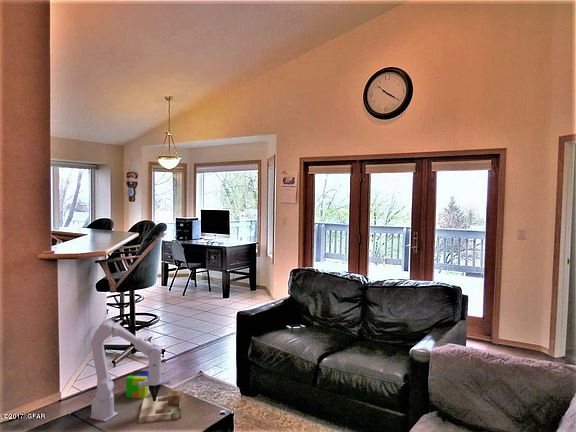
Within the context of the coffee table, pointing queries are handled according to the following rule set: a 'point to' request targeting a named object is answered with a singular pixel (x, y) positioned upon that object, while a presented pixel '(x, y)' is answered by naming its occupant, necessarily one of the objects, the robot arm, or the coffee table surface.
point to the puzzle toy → (137, 385)
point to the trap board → (159, 409)
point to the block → (173, 398)
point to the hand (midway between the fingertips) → (154, 400)
